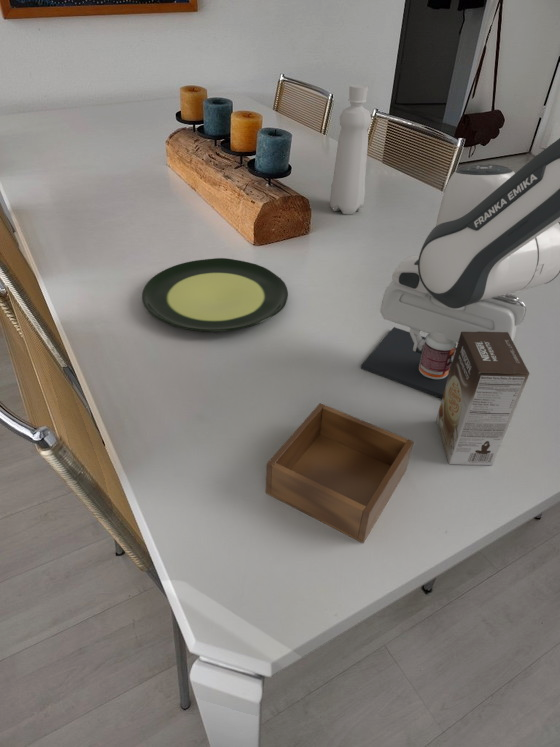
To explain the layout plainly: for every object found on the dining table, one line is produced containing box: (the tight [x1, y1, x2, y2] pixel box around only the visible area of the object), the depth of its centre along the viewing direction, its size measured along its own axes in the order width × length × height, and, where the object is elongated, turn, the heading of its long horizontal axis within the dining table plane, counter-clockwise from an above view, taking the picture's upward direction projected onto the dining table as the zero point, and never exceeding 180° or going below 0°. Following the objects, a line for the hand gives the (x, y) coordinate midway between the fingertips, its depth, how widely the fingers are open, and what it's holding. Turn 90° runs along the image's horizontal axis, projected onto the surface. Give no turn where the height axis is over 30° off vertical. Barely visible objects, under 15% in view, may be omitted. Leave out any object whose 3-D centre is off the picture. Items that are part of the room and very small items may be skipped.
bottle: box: [329, 83, 373, 215], centre depth 138 cm, size 9×9×30 cm
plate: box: [141, 257, 289, 332], centre depth 105 cm, size 28×28×2 cm
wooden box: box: [265, 402, 414, 544], centre depth 69 cm, size 14×14×5 cm
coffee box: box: [435, 331, 531, 466], centre depth 72 cm, size 9×6×16 cm
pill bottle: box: [419, 333, 457, 380], centre depth 86 cm, size 5×5×8 cm
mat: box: [360, 326, 457, 399], centre depth 91 cm, size 20×14×1 cm
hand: (436, 356), depth 87 cm, fingers closed on pill bottle, 5 cm apart
